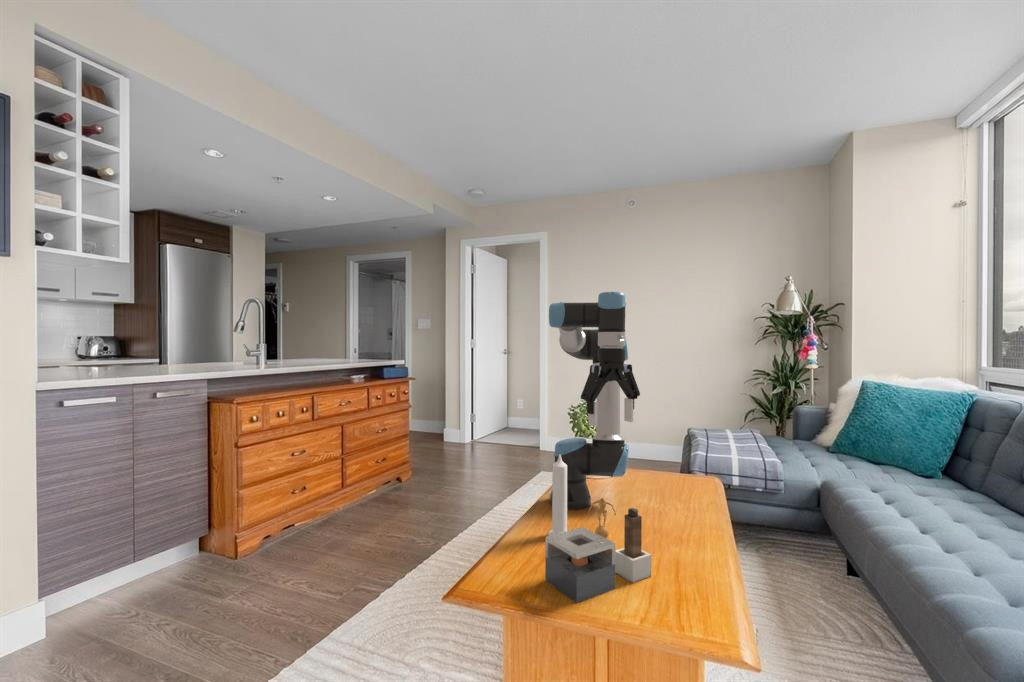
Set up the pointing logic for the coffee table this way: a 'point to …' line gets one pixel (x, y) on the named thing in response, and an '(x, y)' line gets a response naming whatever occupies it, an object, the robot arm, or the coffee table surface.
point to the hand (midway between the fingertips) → (611, 423)
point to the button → (580, 561)
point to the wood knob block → (632, 534)
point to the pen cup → (632, 566)
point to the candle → (559, 497)
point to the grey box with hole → (584, 578)
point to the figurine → (602, 529)
